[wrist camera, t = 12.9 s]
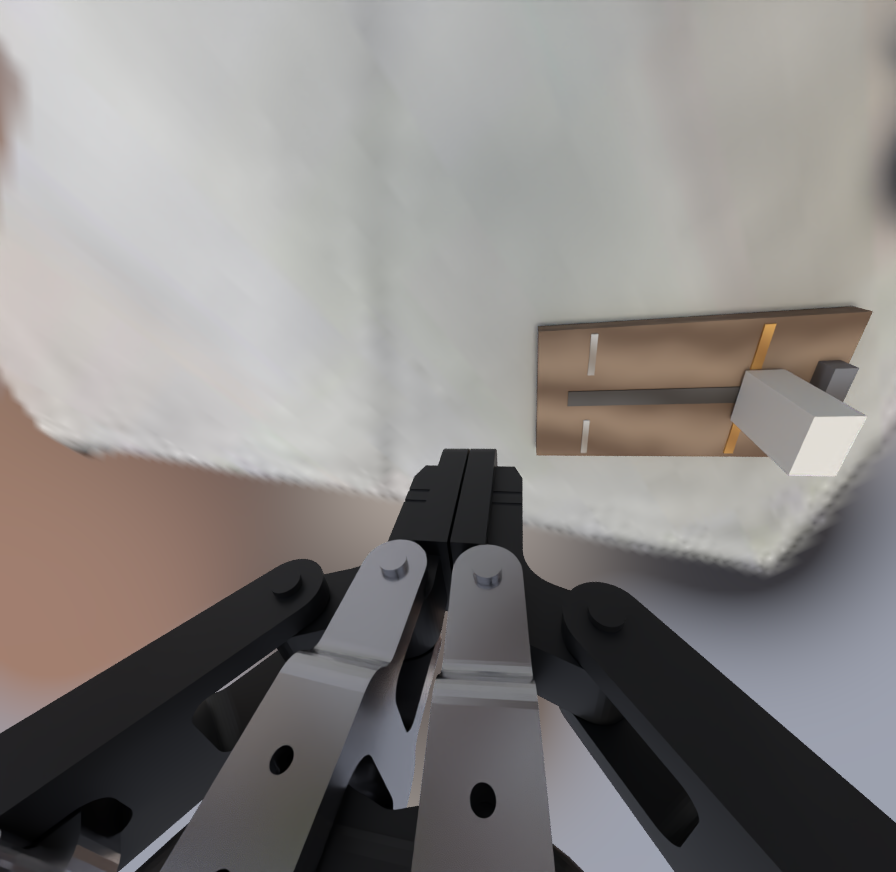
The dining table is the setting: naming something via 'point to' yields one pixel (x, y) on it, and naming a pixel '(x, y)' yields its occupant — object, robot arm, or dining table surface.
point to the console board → (679, 378)
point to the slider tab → (796, 422)
